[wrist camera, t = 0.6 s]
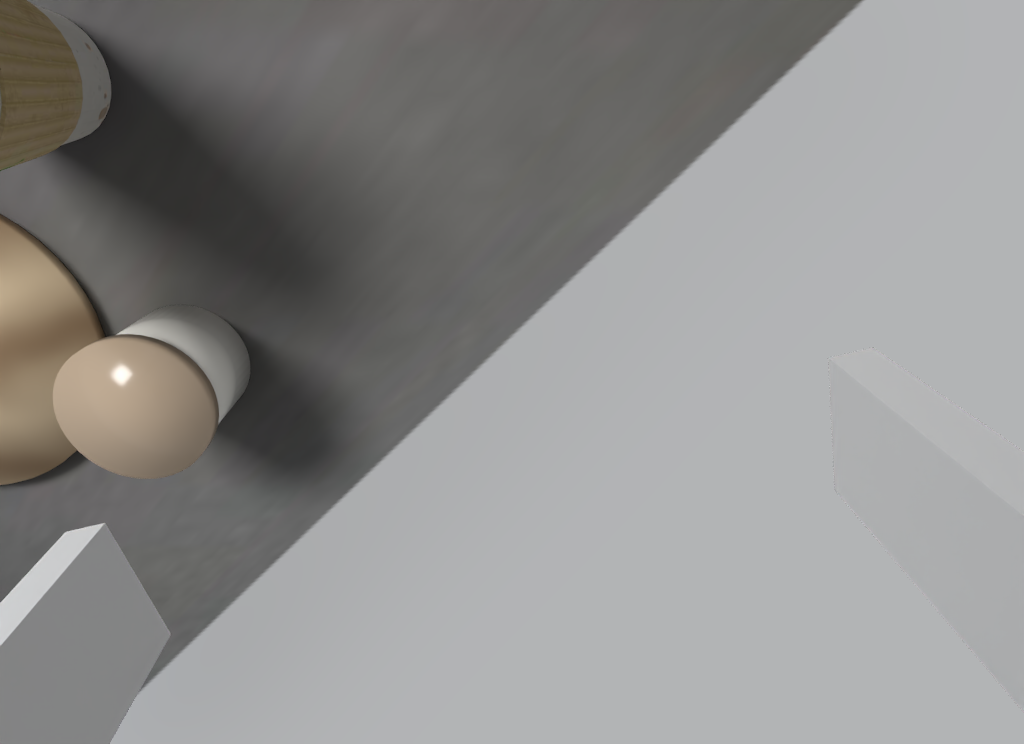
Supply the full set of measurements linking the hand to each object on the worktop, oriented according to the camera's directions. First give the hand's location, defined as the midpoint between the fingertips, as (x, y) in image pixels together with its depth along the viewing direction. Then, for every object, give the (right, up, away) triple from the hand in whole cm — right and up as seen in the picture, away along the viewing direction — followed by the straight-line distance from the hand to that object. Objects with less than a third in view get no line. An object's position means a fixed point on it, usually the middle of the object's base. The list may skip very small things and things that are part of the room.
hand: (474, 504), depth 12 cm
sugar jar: (-18, +3, +28) cm, 33 cm away
